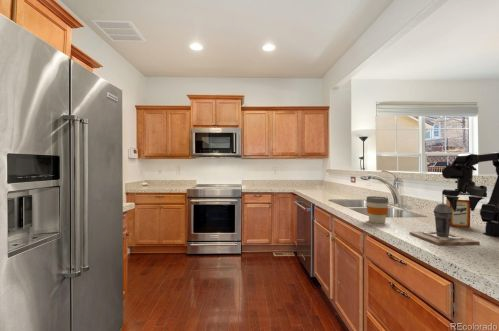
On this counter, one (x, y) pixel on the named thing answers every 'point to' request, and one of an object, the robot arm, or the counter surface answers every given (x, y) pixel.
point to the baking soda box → (460, 213)
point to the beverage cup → (442, 219)
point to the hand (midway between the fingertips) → (463, 210)
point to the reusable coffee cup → (377, 208)
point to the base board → (451, 240)
